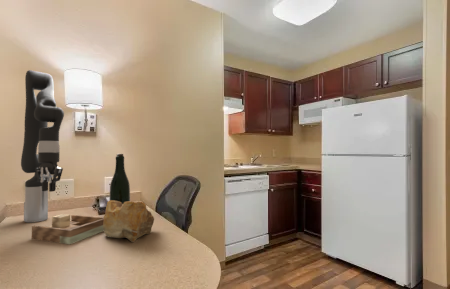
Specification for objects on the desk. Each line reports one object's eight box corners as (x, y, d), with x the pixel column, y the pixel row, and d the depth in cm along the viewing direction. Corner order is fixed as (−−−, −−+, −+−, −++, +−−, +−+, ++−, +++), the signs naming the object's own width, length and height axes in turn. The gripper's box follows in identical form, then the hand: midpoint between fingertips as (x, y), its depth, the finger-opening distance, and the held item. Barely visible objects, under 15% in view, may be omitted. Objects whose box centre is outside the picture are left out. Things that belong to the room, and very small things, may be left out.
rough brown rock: (168, 238, 95) (169, 199, 97) (129, 247, 82) (132, 203, 84) (135, 229, 110) (137, 195, 112) (98, 236, 97) (101, 198, 99)
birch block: (51, 227, 100) (52, 216, 100) (62, 224, 104) (62, 214, 105) (59, 228, 99) (60, 217, 99) (70, 225, 103) (70, 214, 103)
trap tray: (31, 239, 94) (31, 226, 94) (73, 225, 111) (73, 214, 111) (69, 244, 88) (70, 230, 88) (107, 229, 105) (107, 217, 105)
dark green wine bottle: (133, 214, 131) (133, 153, 132) (114, 218, 123) (114, 153, 124) (124, 211, 137) (124, 153, 139) (105, 215, 130) (106, 154, 131)
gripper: (28, 151, 104) (27, 192, 103) (52, 151, 99) (52, 193, 99) (46, 151, 111) (45, 189, 110) (69, 151, 106) (68, 190, 106)
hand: (48, 190), depth 104 cm, fingers open, 3 cm apart
